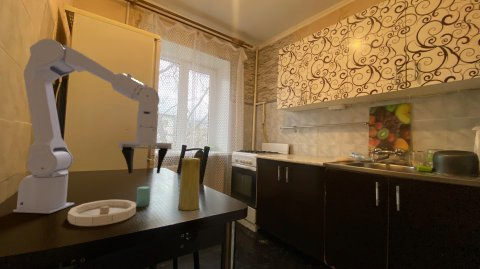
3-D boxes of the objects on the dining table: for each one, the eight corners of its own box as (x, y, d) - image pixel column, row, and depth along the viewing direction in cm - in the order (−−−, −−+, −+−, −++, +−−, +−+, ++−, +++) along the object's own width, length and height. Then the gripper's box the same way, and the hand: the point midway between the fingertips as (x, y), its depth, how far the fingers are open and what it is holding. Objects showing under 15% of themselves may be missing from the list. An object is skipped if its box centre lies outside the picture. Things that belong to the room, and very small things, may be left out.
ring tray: (51, 224, 46) (52, 215, 46) (96, 205, 60) (96, 198, 60) (115, 227, 46) (115, 218, 46) (144, 207, 60) (145, 200, 60)
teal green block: (133, 206, 61) (134, 188, 61) (139, 202, 65) (140, 186, 65) (146, 206, 61) (147, 189, 61) (151, 203, 65) (152, 186, 65)
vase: (194, 212, 58) (196, 160, 59) (173, 209, 59) (176, 158, 60) (202, 205, 64) (204, 158, 65) (183, 203, 65) (186, 157, 66)
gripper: (116, 125, 58) (113, 175, 57) (171, 128, 62) (169, 174, 62) (123, 127, 65) (120, 171, 64) (172, 129, 69) (170, 171, 68)
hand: (144, 173), depth 63 cm, fingers open, 7 cm apart
